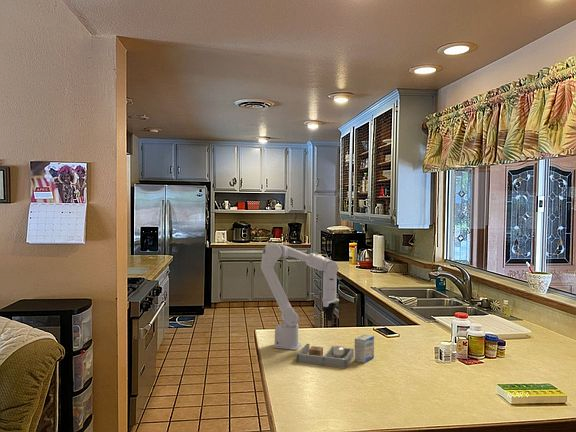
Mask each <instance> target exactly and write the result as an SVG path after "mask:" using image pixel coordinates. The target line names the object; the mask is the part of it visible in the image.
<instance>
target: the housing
mask: <svg viewBox="0 0 576 432" xmlns="http://www.w3.org/2000/svg"><path fill="white" fill-rule="evenodd" d="M333 347H334V346H330V348H329V349H328V350H327V352H326V353H325V354H323V356H315V355H309V349H310V343H306V344H305V345H304V346H303V347H302V348H301V349H300V350H299V351H298V352H297V353H296V363H301V364H309V365H316V366H323V367H324V366H325V367H327V366H328V367H332V368H333V367H334V368H342V369H347V368H348V367H349V365H350V363H351V362H352V360H353V358H355V348H350V347H344V359H341V358H333Z"/></svg>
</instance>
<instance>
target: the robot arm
mask: <svg viewBox="0 0 576 432" xmlns="http://www.w3.org/2000/svg"><path fill="white" fill-rule="evenodd" d="M288 256H289V257H291V258H295V259H298V260H300V261H303V262H305V264H306V266H308V267H310V268H313V269H315V270H317V271H322V272H323V273H322V298H321V301H322V304H321V307H322V308H323V311H324V315H325V319H326V321H327V322H328V321H329V322H332V321H333V319H334V313H335V309H336V307H337V305H338V303H337V302H339V301H340V299H339V298H337V283H338V282H337V273H338V271H339V266H338V263H337V262H336V261H334V260H332V259H330V258H329V257H327V256H326V257H324V256H321V255H319V253H318V252H311V253H309V254H307V253H305V252H303V251H300V250H298V249H295V248H293V247H290V246H289V245H285V244H281V243H278V244H277V243H275V242H269V243H267V244H265V246H264V248H263V250H262V258H261V262H260V269H261V271H262V273H263V276H264V278H265V280H266V282H267V284H268V286H269V288H270V290H271V292H272V295H273V297H274V299H275V301H276V303H277V305H278V308H279V310H280V317H281V319H282V321H281V323H279V324H276V326H275V329H274V346H273V348H275V349H283V350H292V351H297V349H298V348H299V347H301V345H302V343H301V342H300V343H299V322H300V317H299V313H297V312H296V311H295V309H294V308H293V307H292V305H291V303H290V301H289V299H288V297H287V295H286V292H285V291H284V288H283V286H282V284H281V282H280V280H279V278H278V276H277V273H276V272H275V269H274V268H275V266H276V264H277V262H278V260H279V259H280V258H281V257H283V258H284V257H288Z"/></svg>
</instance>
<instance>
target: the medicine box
mask: <svg viewBox="0 0 576 432" xmlns="http://www.w3.org/2000/svg"><path fill="white" fill-rule="evenodd" d="M374 358H375V336H374V335H371V334H367V333H366V334H362V335H361V336H358V337H355V339H354V361H355V362H358V363H363V364H366V363H367V362H369V361H370V360H372V359H374Z"/></svg>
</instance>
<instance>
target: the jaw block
mask: <svg viewBox="0 0 576 432" xmlns="http://www.w3.org/2000/svg"><path fill="white" fill-rule="evenodd" d="M308 355H315V356H324V347H323V346H315V345H311V346H310V347H309V352H308Z"/></svg>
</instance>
